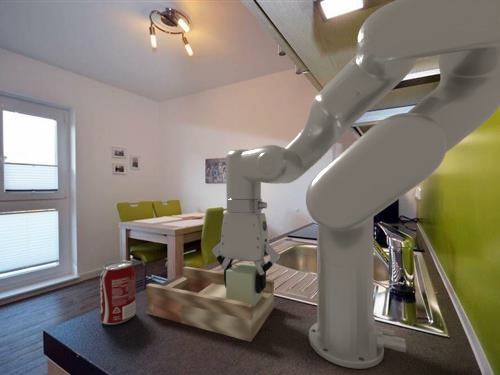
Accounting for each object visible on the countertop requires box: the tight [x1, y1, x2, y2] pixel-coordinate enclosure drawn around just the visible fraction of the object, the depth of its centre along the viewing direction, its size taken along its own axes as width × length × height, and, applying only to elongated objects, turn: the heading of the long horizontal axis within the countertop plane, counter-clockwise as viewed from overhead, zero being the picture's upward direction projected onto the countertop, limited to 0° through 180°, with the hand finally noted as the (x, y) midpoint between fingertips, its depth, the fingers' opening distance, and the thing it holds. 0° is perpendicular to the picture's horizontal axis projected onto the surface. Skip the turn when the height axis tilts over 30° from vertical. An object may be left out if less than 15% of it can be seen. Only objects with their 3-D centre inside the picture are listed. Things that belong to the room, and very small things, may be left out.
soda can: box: [99, 260, 137, 326], centre depth 54 cm, size 7×7×12 cm
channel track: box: [145, 266, 275, 343], centre depth 57 cm, size 26×14×6 cm, turn 66°
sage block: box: [226, 262, 263, 307], centre depth 54 cm, size 6×6×7 cm
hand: (244, 287), depth 54 cm, fingers open, 6 cm apart
